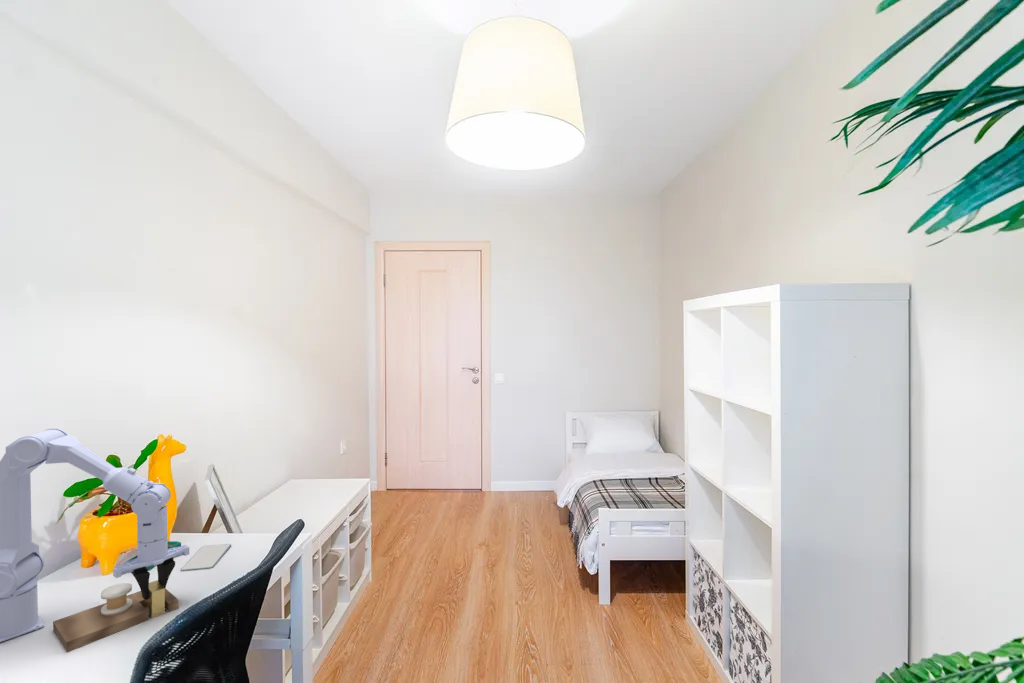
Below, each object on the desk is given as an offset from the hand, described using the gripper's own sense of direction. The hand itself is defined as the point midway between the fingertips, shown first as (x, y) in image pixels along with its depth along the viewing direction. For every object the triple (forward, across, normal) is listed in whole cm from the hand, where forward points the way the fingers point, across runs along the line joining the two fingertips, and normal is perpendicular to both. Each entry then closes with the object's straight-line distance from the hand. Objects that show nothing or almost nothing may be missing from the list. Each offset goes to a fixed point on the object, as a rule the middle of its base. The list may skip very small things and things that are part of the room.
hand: (153, 595), depth 115 cm
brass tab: (+4, 0, 0) cm, 4 cm away
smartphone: (+4, +19, +20) cm, 28 cm away
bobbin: (+2, -6, +4) cm, 7 cm away
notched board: (+4, -6, +3) cm, 8 cm away
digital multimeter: (+4, +9, +31) cm, 33 cm away
